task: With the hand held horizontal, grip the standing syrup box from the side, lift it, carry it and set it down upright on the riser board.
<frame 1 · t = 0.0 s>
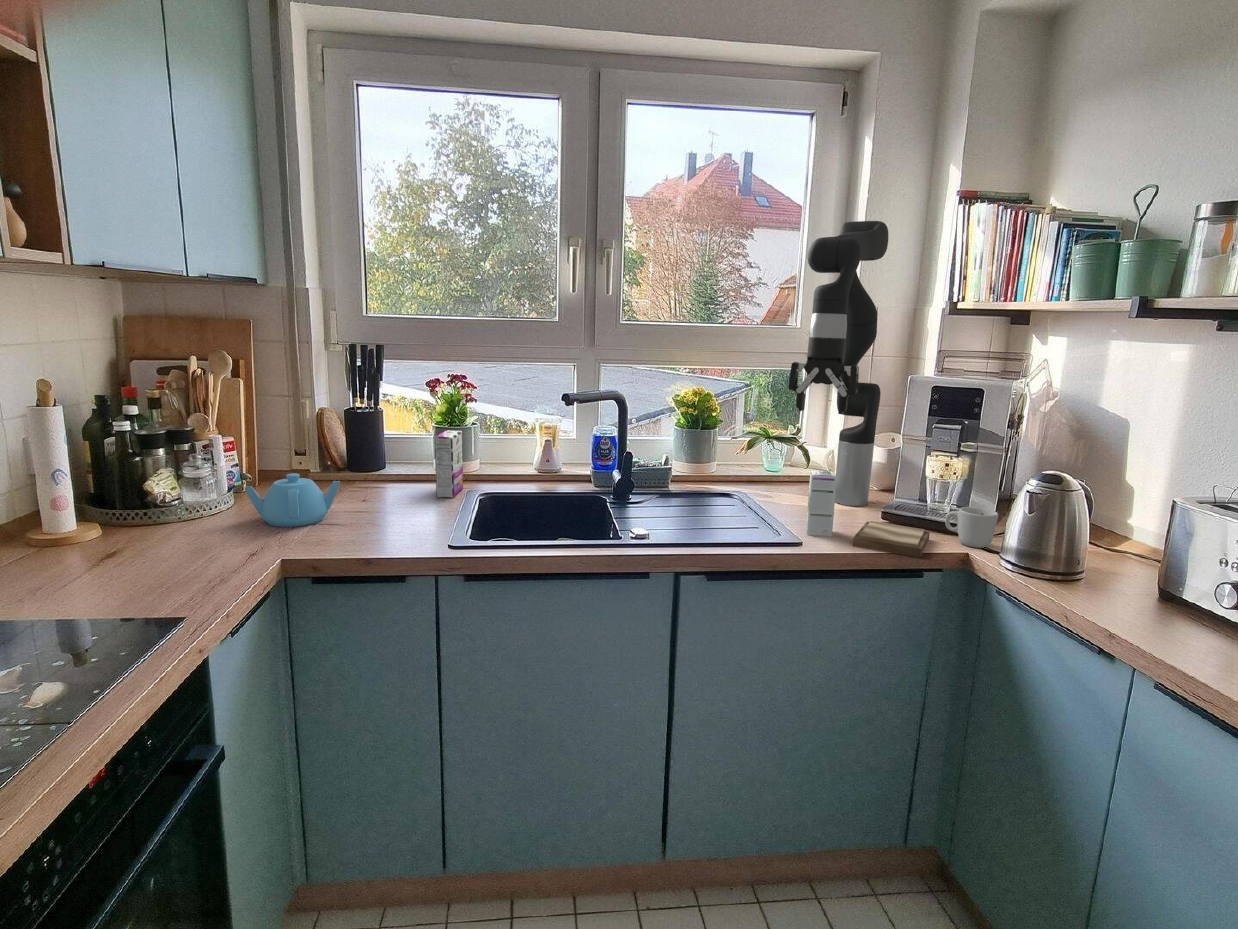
hand: (820, 412, 153), 29 cm above the countertop, tool pointing down, fingers open, 8 cm apart
cup: (967, 544, 162), on the countertop
candy bar box: (449, 494, 192), on the countertop
riser: (891, 542, 161), on the countertop
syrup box: (818, 533, 167), on the countertop
teapot: (295, 520, 163), on the countertop
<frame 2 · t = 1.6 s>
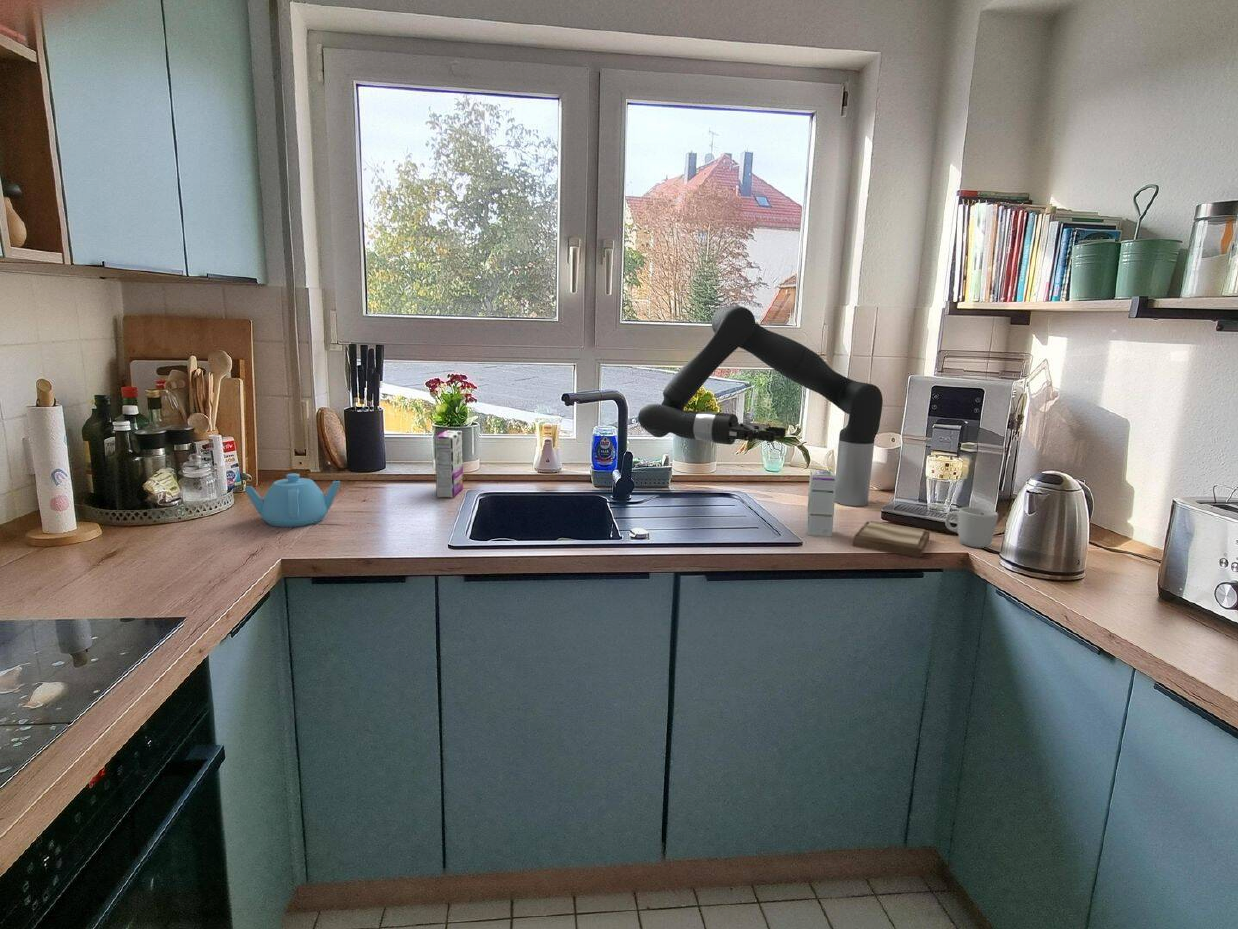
hand: (780, 434, 167), 22 cm above the countertop, tool horizontal, fingers open, 8 cm apart
nothing on the countertop moved.
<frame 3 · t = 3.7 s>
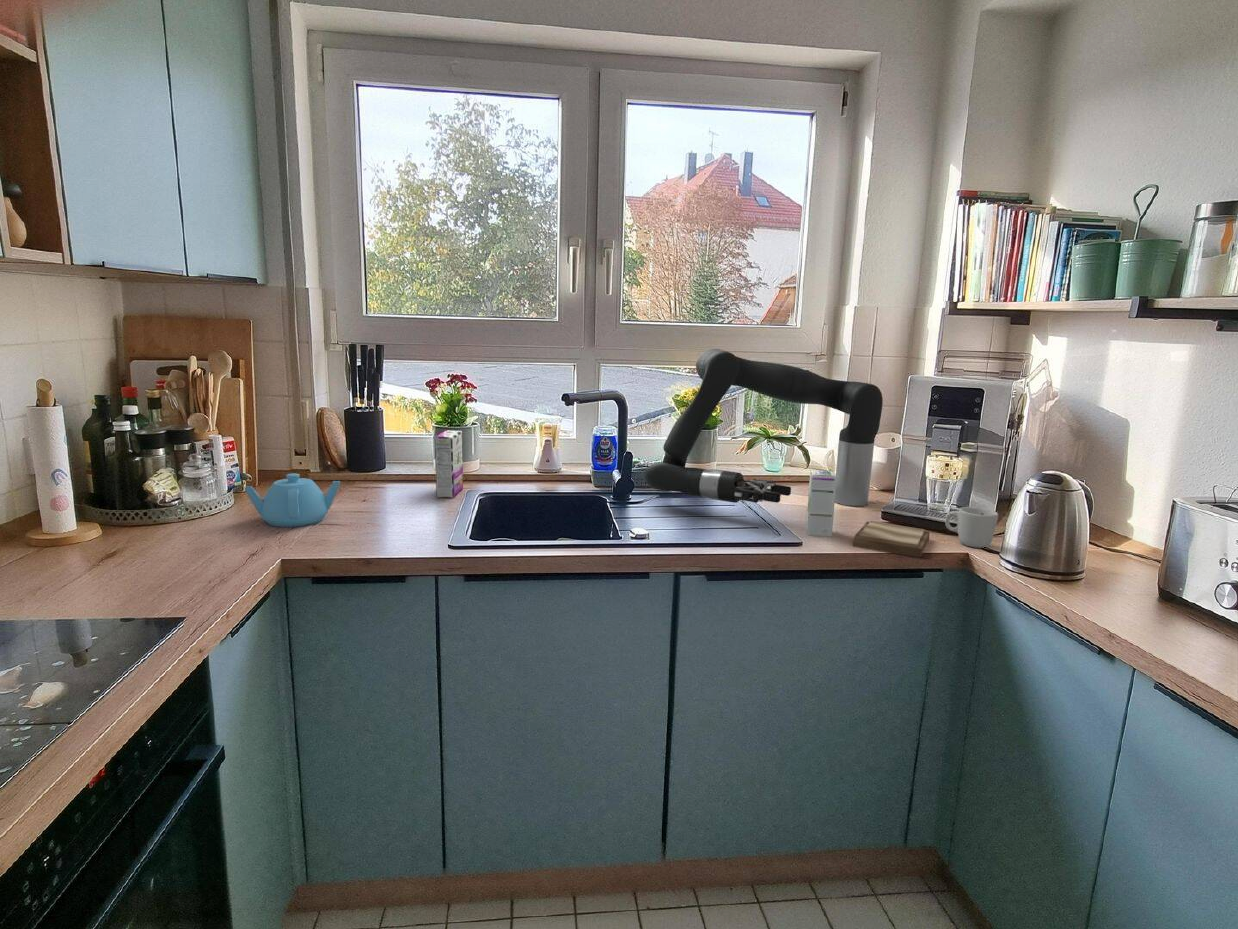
hand: (785, 494, 169), 8 cm above the countertop, tool horizontal, fingers open, 8 cm apart
nothing on the countertop moved.
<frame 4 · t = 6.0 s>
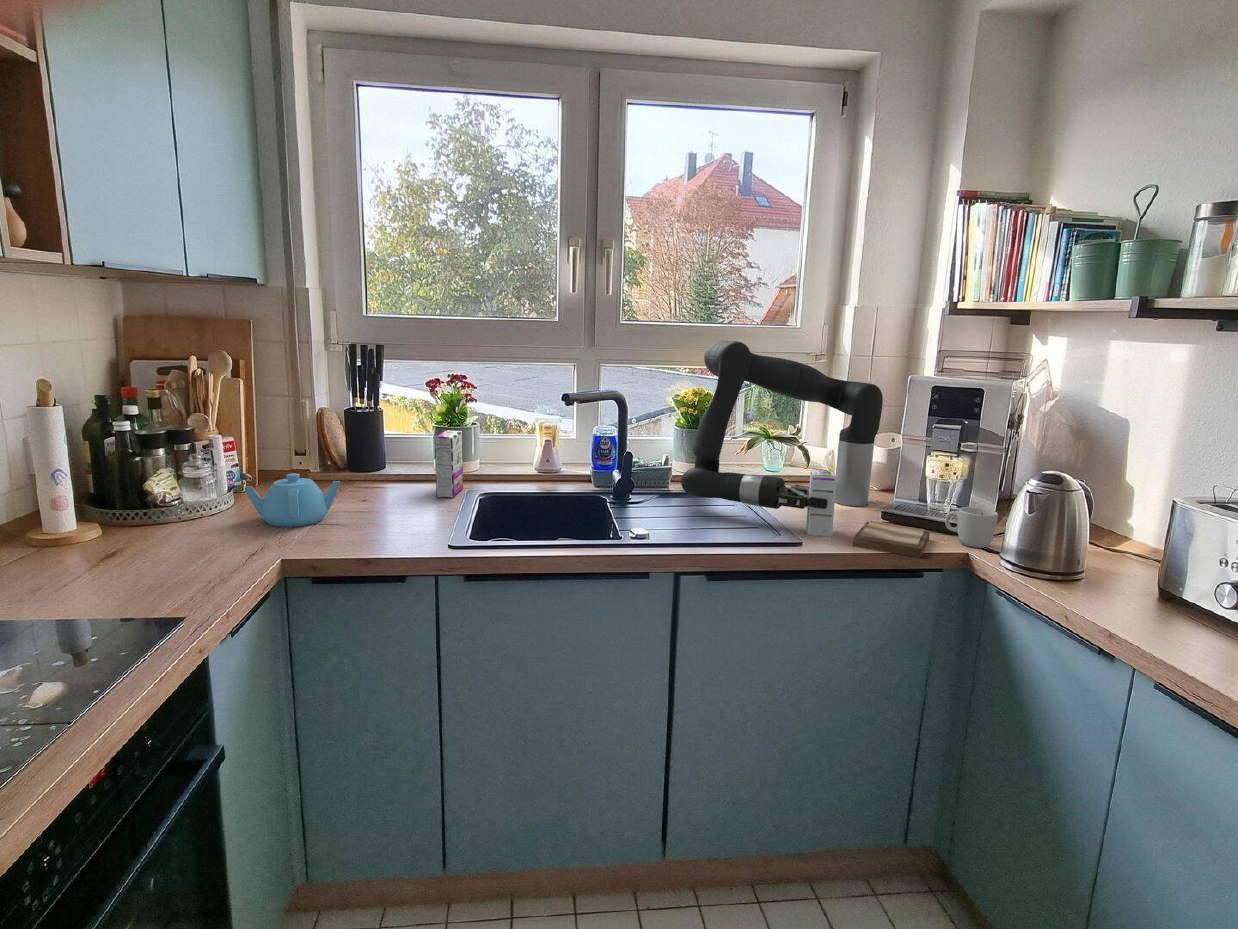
hand: (830, 501, 164), 8 cm above the countertop, tool horizontal, fingers closed on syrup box, 7 cm apart
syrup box: (818, 533, 167), on the countertop, touching gripper
everything else where it was.
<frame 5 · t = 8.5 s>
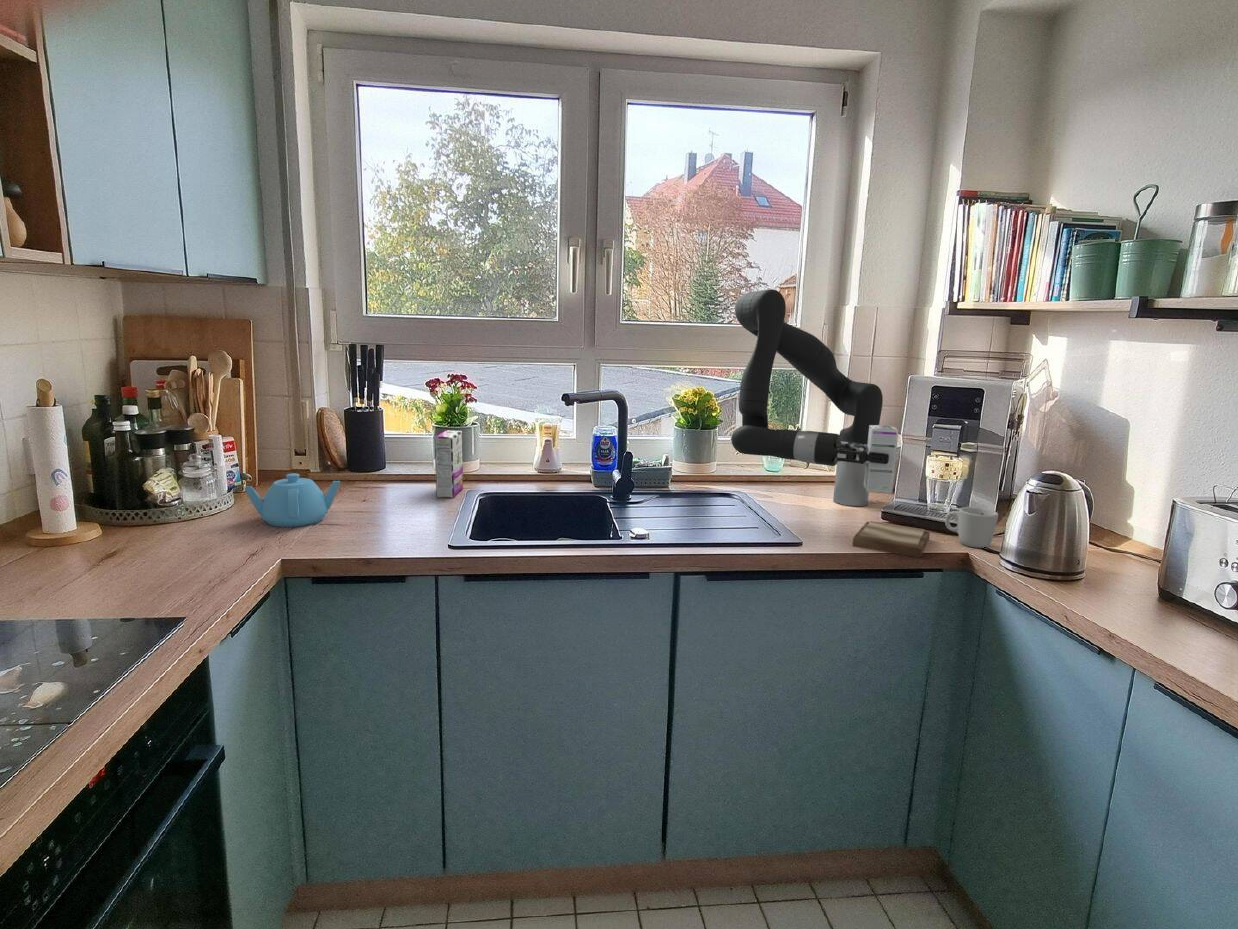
hand: (891, 456, 157), 20 cm above the countertop, tool horizontal, fingers closed on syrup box, 7 cm apart
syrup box: (876, 491, 160), point 11 cm above the countertop, touching gripper
everything else where it was.
when the fingers open (12 cm above the countertop, at t = 11.3 s): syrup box drops 1 cm, resting on riser.
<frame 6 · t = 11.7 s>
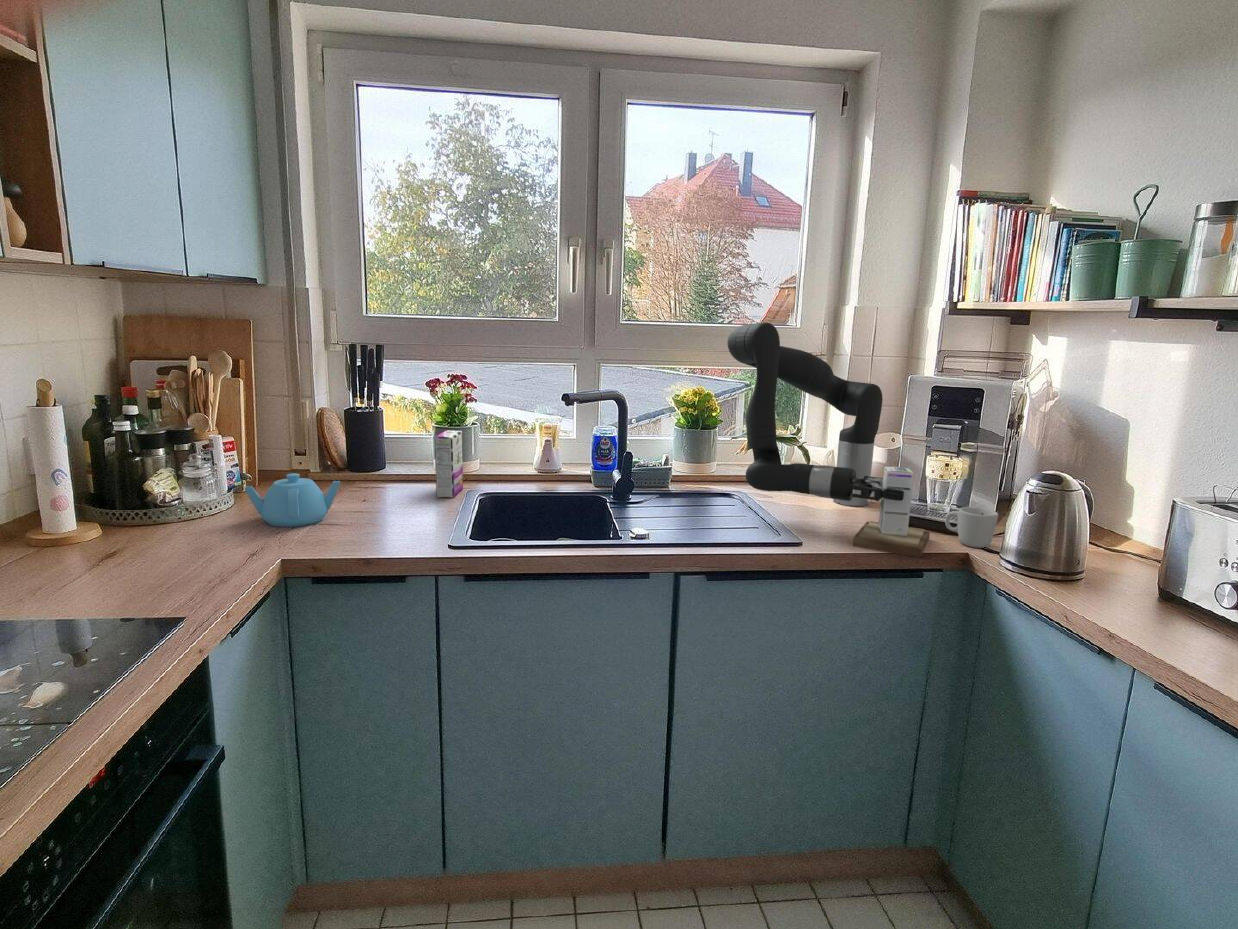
hand: (906, 492, 157), 12 cm above the countertop, tool horizontal, fingers open, 8 cm apart
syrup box: (891, 532, 160), point 2 cm above the countertop, touching riser
everything else where it was.
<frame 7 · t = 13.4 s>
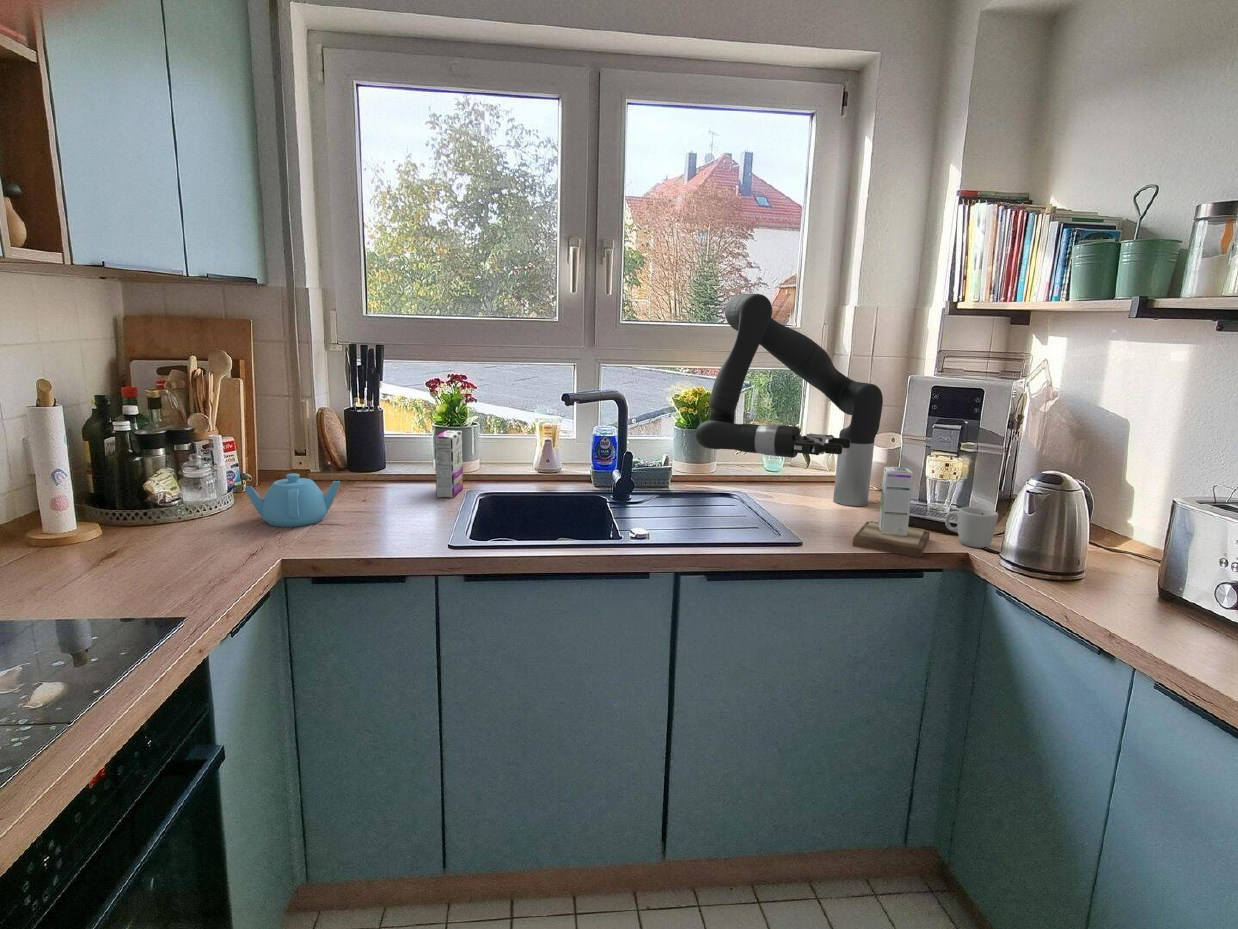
hand: (846, 446, 164), 21 cm above the countertop, tool horizontal, fingers open, 8 cm apart
nothing on the countertop moved.
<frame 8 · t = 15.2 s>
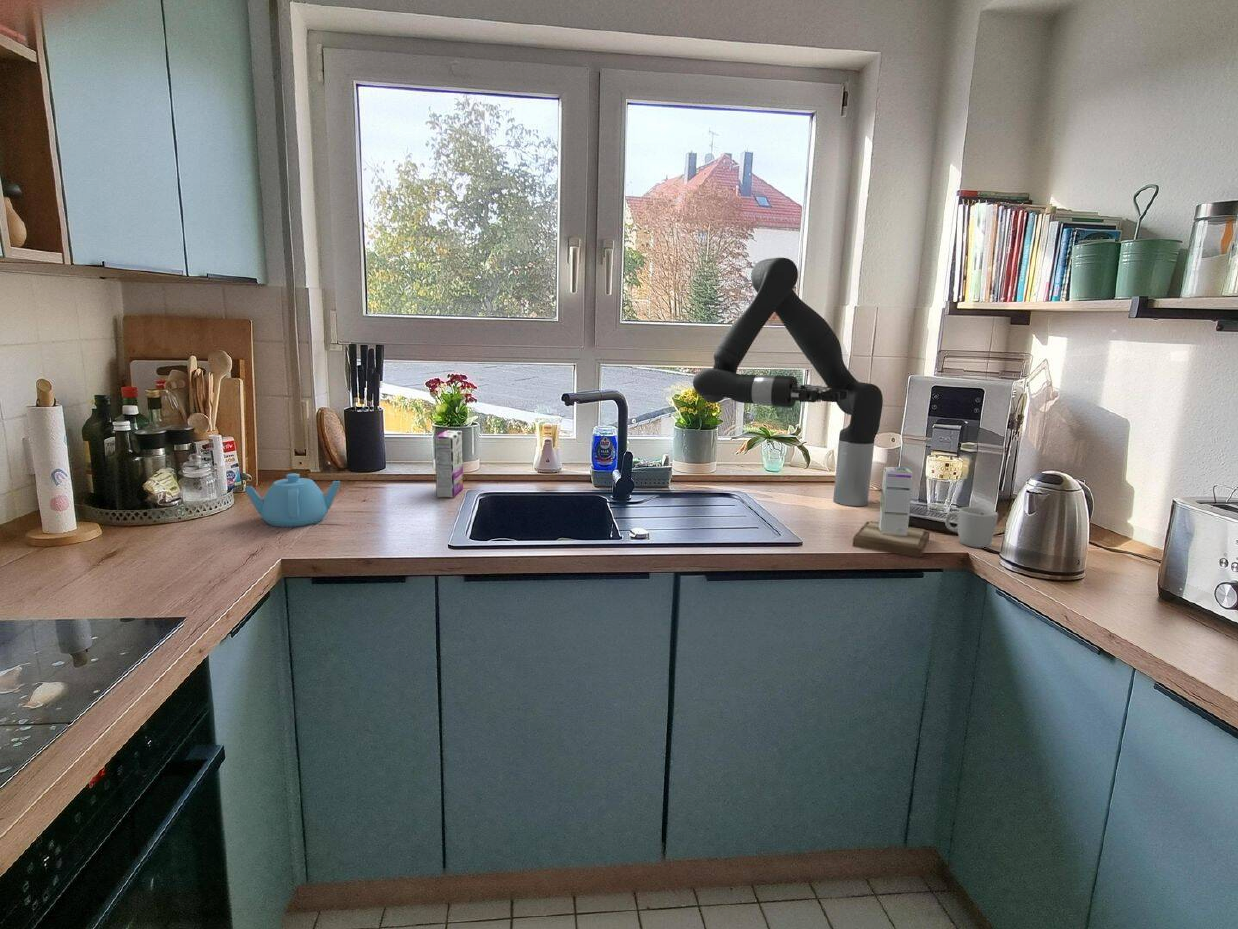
hand: (843, 396, 163), 32 cm above the countertop, tool horizontal, fingers open, 8 cm apart
nothing on the countertop moved.
at the end: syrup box inside the target area on the riser (0.2 cm from its centre), point 2.3 cm above the riser's base; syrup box tilted 0°; the gripper is holding nothing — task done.
